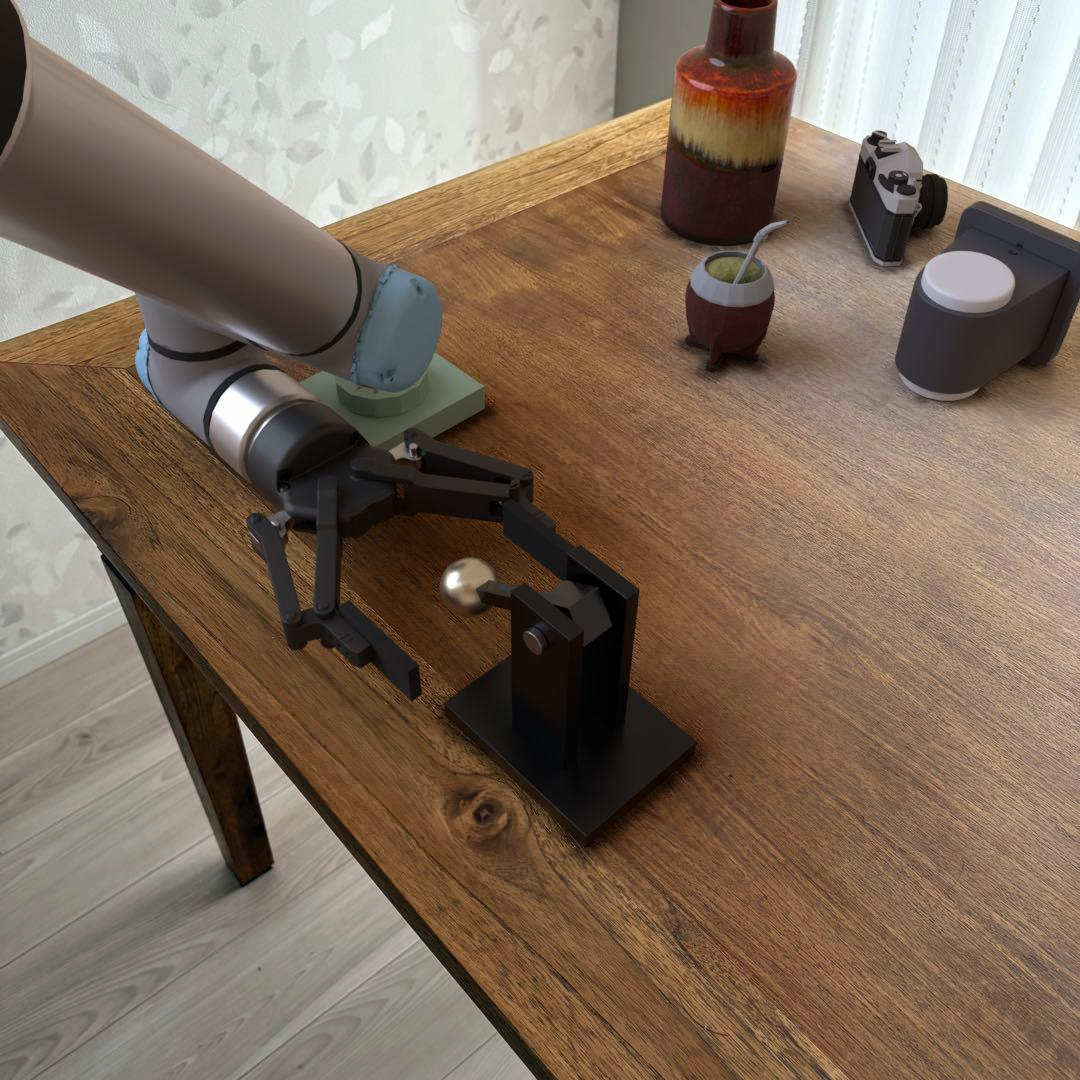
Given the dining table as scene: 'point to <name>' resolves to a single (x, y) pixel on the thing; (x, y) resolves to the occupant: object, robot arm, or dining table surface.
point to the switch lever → (478, 590)
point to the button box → (402, 403)
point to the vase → (728, 127)
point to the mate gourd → (731, 303)
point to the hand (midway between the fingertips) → (500, 625)
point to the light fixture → (988, 304)
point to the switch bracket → (572, 709)
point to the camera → (894, 197)
